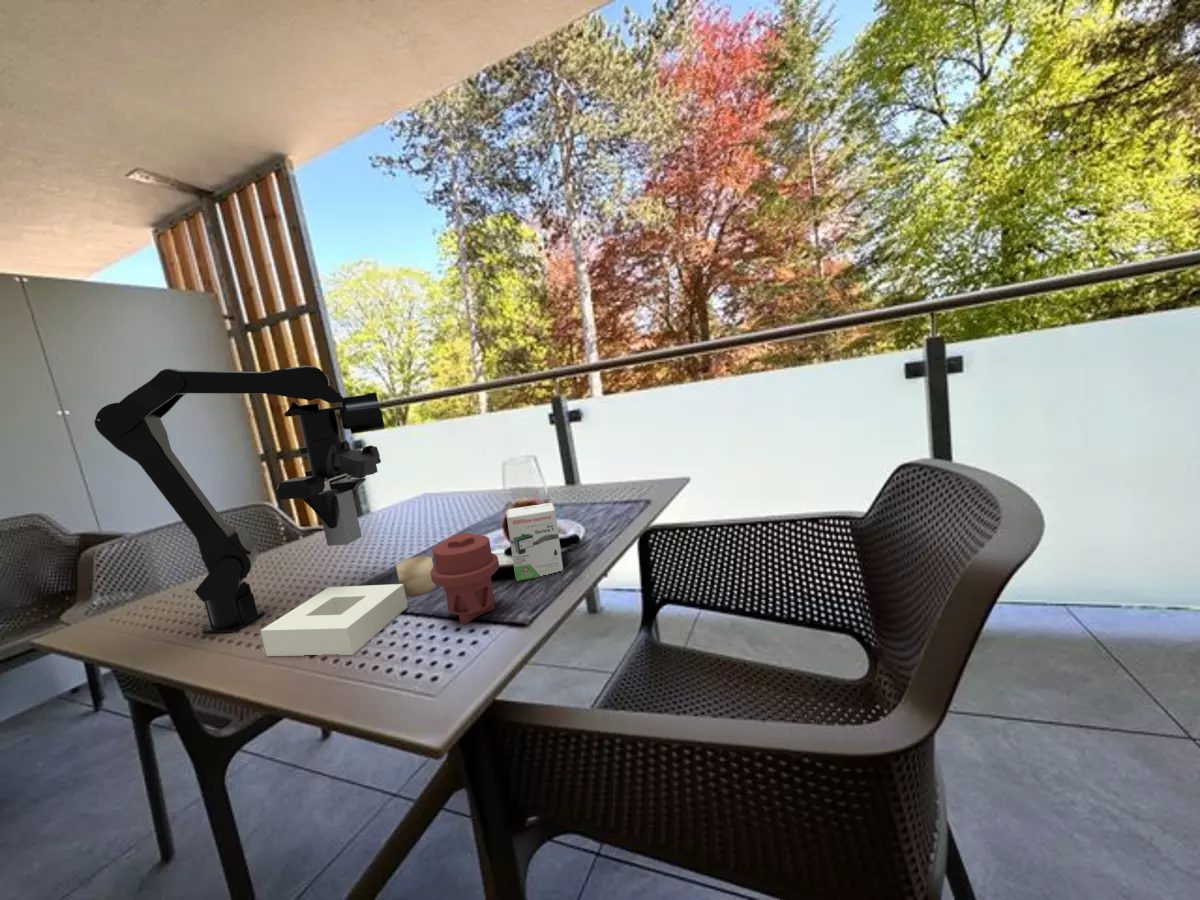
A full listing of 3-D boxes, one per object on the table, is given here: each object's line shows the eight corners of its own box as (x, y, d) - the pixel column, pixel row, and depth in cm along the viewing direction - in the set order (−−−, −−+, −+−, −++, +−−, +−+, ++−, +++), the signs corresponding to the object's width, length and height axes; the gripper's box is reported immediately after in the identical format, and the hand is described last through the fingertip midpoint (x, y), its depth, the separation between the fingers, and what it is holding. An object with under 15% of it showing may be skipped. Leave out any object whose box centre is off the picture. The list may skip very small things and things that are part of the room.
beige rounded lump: (394, 597, 89) (389, 570, 88) (413, 582, 95) (408, 556, 94) (425, 596, 88) (420, 568, 87) (442, 581, 93) (437, 555, 93)
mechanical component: (515, 597, 82) (490, 630, 73) (458, 599, 84) (427, 631, 75) (503, 524, 80) (476, 547, 71) (445, 528, 82) (411, 551, 73)
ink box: (516, 582, 89) (505, 516, 87) (514, 571, 93) (504, 509, 92) (564, 572, 90) (555, 508, 88) (561, 562, 95) (552, 501, 93)
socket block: (266, 656, 73) (260, 630, 73) (333, 609, 87) (328, 587, 86) (352, 655, 70) (346, 628, 70) (407, 606, 84) (403, 583, 83)
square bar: (327, 545, 91) (316, 496, 89) (342, 537, 95) (332, 491, 93) (347, 544, 90) (336, 495, 88) (361, 536, 94) (351, 489, 92)
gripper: (325, 443, 79) (345, 539, 81) (394, 426, 97) (409, 506, 99) (264, 450, 81) (286, 543, 83) (342, 432, 99) (359, 510, 101)
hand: (341, 524), depth 92 cm, fingers closed on square bar, 4 cm apart
